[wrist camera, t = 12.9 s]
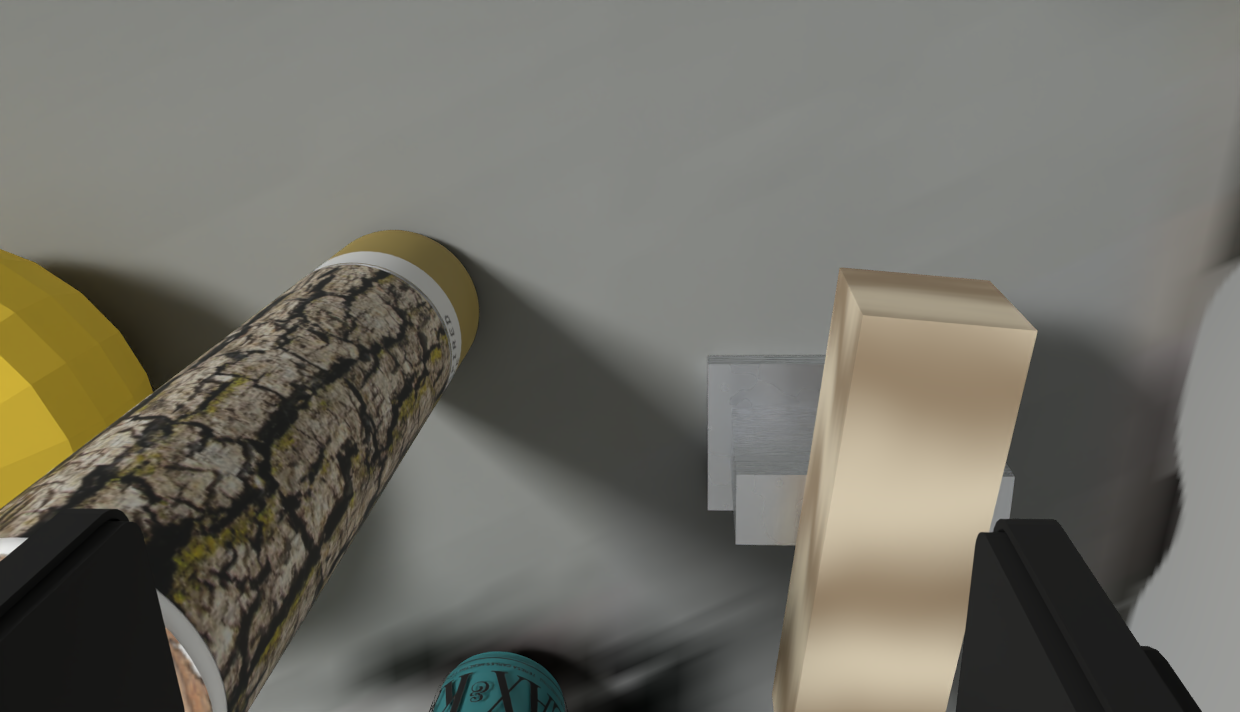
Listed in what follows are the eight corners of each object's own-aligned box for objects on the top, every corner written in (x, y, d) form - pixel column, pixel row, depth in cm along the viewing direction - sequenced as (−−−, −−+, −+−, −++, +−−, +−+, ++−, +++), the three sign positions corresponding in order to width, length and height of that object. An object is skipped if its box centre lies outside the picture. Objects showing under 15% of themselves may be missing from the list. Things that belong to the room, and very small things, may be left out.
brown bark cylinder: (482, 230, 41) (195, 567, 17) (483, 380, 43) (233, 851, 20) (323, 220, 41) (-167, 537, 18) (333, 369, 44) (-85, 819, 20)
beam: (839, 267, 33) (862, 315, 28) (989, 280, 33) (1037, 330, 28) (771, 694, 40) (781, 789, 35) (896, 707, 39) (922, 805, 35)
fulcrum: (707, 355, 42) (709, 425, 35) (994, 355, 41) (1050, 426, 34) (707, 499, 44) (709, 588, 38) (977, 501, 43) (1026, 594, 37)
